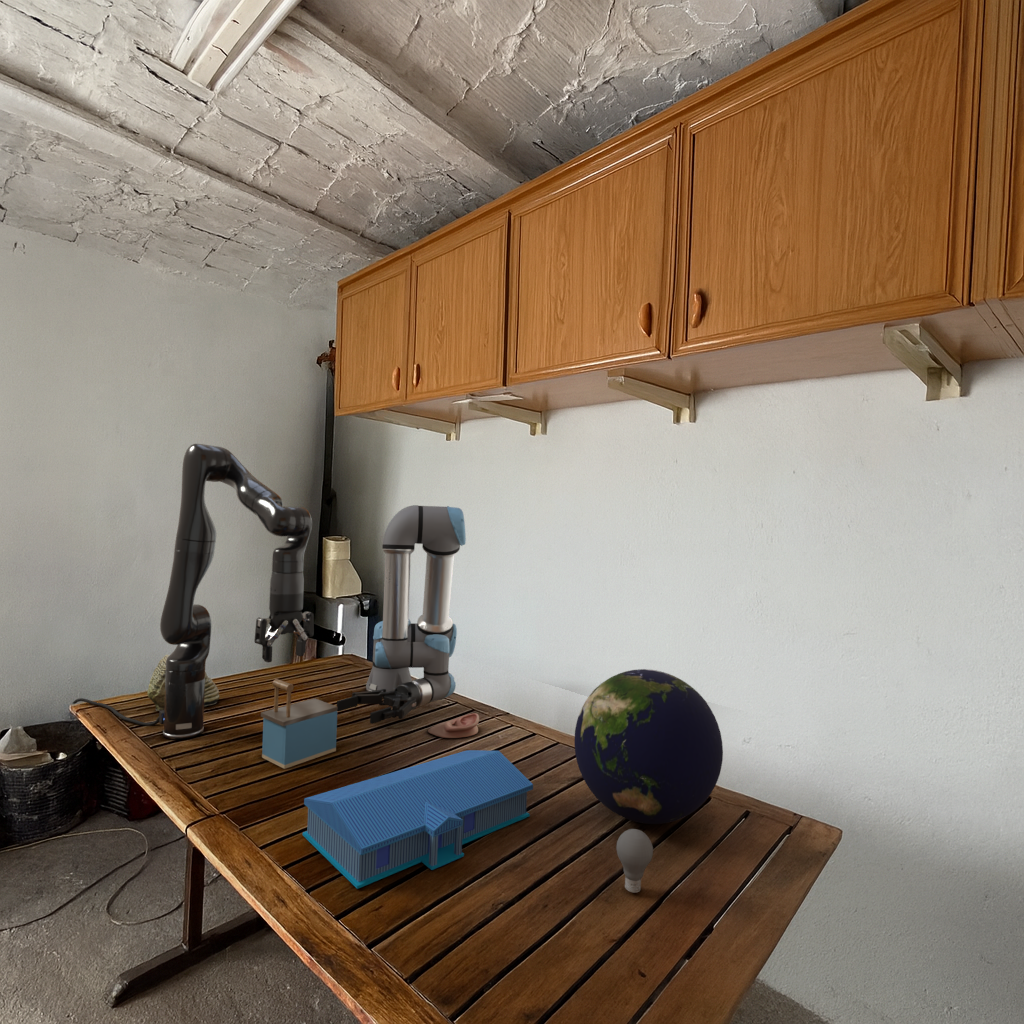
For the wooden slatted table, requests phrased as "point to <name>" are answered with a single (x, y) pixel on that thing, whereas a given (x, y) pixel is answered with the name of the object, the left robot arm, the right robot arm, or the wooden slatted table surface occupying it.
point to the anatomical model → (457, 727)
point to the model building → (416, 814)
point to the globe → (648, 746)
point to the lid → (295, 707)
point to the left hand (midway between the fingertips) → (284, 658)
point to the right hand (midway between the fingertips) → (353, 712)
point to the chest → (299, 740)
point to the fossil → (158, 687)
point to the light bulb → (634, 857)
